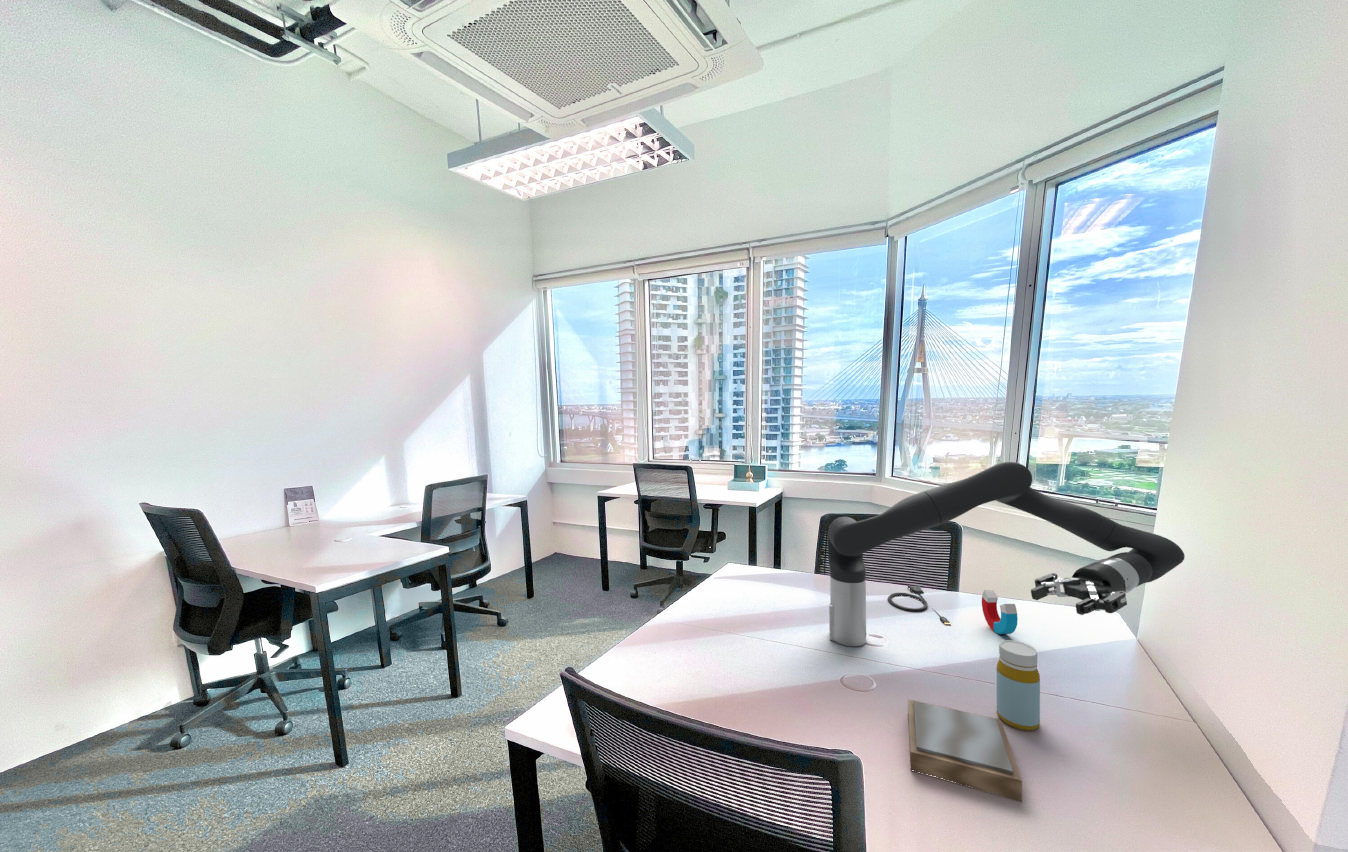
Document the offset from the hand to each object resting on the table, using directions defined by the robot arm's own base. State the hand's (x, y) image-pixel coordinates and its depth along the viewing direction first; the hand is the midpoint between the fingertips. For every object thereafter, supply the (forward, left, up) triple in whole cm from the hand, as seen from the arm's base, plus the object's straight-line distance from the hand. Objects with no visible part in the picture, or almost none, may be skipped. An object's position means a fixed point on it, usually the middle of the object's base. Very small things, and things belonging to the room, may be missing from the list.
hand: (1054, 602), depth 96 cm
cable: (-25, +47, -24) cm, 58 cm away
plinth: (-20, -22, -23) cm, 37 cm away
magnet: (-4, +35, -23) cm, 42 cm away
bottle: (-8, -7, -23) cm, 25 cm away
